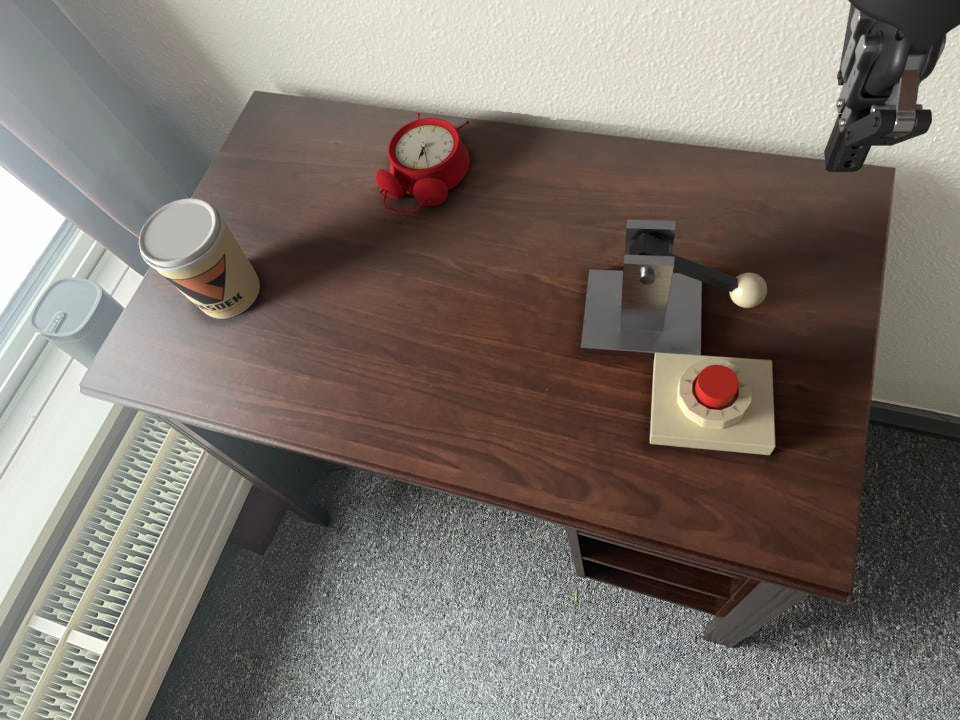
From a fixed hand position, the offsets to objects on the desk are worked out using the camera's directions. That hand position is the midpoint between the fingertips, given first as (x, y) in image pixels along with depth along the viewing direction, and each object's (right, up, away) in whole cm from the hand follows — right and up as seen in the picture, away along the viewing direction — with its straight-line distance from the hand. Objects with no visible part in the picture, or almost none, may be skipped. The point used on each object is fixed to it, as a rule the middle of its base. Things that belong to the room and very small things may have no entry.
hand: (840, 163), depth 46 cm
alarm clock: (-31, +10, +41) cm, 53 cm away
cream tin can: (-55, -5, +37) cm, 66 cm away
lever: (-4, -6, +20) cm, 21 cm away
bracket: (-7, -9, +27) cm, 29 cm away
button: (-2, -16, +18) cm, 24 cm away
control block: (-2, -18, +21) cm, 28 cm away
